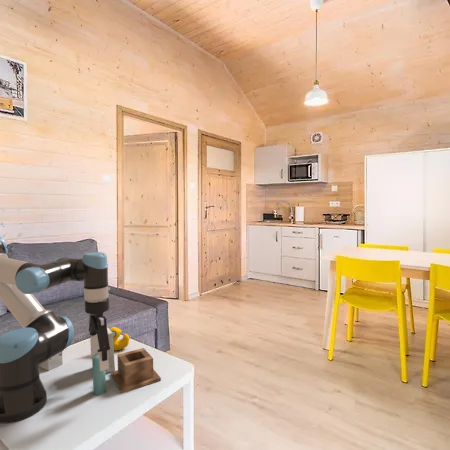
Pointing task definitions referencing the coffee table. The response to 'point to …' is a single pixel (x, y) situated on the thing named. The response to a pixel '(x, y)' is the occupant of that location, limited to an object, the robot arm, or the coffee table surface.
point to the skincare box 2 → (110, 352)
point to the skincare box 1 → (52, 362)
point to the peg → (98, 377)
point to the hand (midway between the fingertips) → (99, 361)
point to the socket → (134, 370)
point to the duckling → (116, 342)
